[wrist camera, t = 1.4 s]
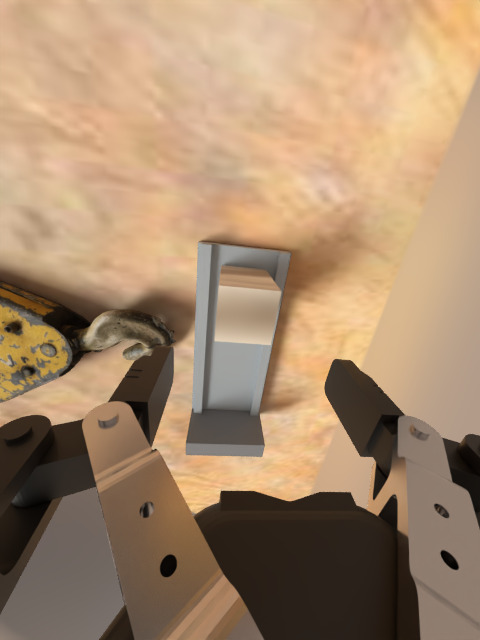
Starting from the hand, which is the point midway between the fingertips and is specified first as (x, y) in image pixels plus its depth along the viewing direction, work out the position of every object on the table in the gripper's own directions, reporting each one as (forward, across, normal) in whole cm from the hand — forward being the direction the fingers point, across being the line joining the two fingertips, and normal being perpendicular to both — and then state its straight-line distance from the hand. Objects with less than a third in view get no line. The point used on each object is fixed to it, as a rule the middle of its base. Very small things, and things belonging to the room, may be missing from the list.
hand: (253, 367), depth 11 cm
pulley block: (+15, +21, +8) cm, 27 cm away
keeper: (+13, 0, 0) cm, 13 cm away
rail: (+14, 0, +7) cm, 16 cm away
